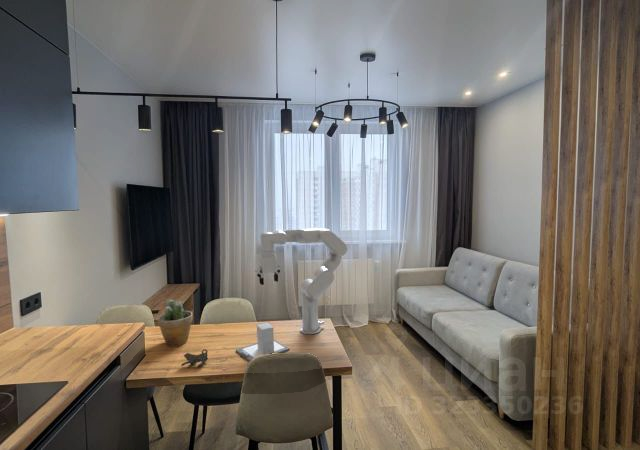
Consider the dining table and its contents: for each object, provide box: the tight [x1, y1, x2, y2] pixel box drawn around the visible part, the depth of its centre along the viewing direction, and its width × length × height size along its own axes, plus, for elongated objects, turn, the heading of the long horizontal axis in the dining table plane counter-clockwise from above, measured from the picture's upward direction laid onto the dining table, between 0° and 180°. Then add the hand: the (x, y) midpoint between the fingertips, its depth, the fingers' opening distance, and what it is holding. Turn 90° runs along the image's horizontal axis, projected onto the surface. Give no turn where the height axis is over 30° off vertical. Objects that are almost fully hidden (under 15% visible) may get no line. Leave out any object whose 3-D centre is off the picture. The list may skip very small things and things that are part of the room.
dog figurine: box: [181, 349, 209, 368], centre depth 165 cm, size 12×6×7 cm, turn 99°
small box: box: [256, 322, 275, 354], centre depth 177 cm, size 8×6×13 cm
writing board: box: [235, 339, 290, 362], centre depth 180 cm, size 22×18×2 cm
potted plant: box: [157, 299, 193, 347], centre depth 192 cm, size 18×19×25 cm
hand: (269, 282), depth 197 cm, fingers open, 9 cm apart
